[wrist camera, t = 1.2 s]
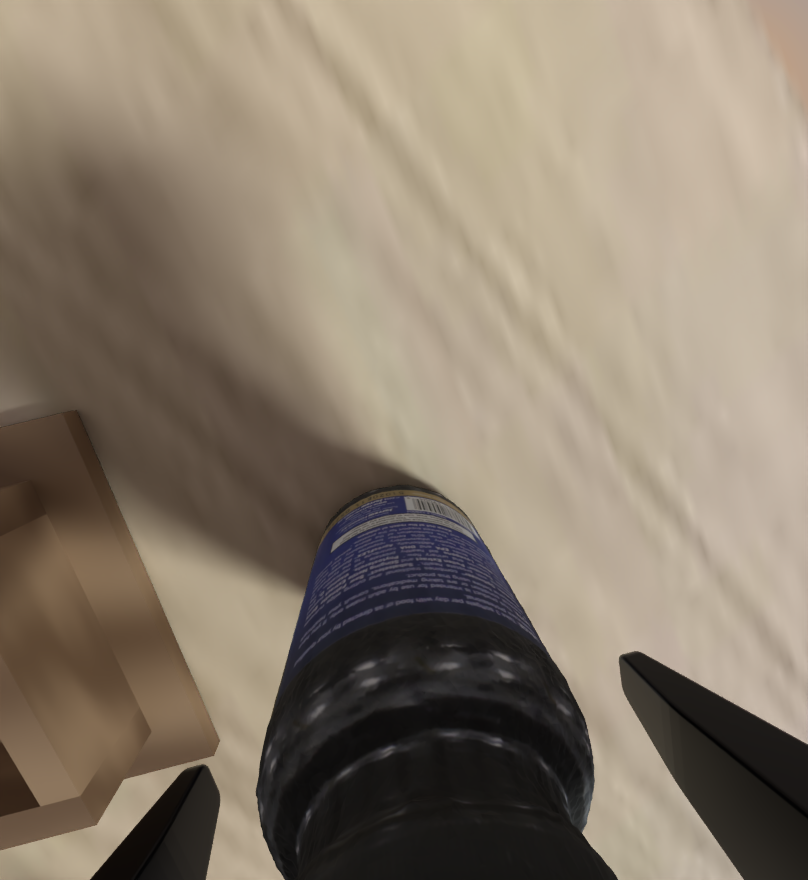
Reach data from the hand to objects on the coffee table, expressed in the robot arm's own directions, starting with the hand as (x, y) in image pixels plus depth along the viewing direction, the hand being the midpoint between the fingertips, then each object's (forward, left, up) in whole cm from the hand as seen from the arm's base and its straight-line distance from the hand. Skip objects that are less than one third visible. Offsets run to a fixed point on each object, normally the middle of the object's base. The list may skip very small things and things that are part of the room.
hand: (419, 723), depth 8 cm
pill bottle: (0, 0, -7) cm, 7 cm away
